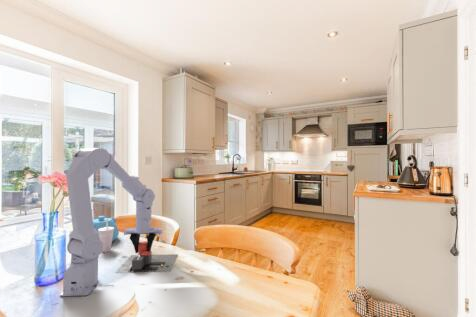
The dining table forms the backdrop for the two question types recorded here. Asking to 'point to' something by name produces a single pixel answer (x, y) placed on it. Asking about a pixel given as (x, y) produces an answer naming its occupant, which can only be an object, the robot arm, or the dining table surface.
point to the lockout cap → (142, 247)
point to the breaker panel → (150, 264)
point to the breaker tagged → (147, 256)
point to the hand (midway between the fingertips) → (143, 252)
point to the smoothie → (106, 236)
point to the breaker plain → (137, 263)
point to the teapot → (102, 223)
